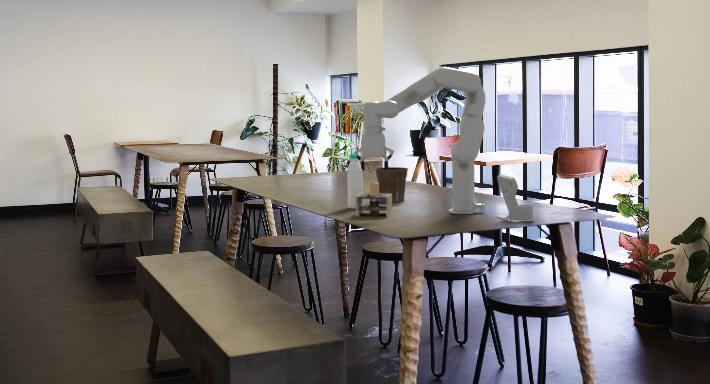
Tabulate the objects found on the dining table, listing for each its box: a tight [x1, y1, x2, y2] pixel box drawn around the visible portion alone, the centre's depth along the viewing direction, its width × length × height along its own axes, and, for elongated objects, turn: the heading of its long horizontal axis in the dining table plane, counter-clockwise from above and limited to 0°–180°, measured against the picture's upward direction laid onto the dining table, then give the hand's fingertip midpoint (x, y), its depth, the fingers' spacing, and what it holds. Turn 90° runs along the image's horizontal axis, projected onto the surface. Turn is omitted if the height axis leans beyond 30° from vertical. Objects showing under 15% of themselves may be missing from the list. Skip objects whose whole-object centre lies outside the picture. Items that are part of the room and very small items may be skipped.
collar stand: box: [355, 193, 393, 218], centre depth 362 cm, size 14×12×8 cm
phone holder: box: [496, 174, 534, 220], centre depth 340 cm, size 17×10×18 cm, turn 12°
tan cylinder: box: [368, 181, 380, 216], centre depth 362 cm, size 4×4×14 cm
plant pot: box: [374, 166, 409, 204], centre depth 406 cm, size 16×16×16 cm
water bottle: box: [346, 153, 364, 210], centre depth 385 cm, size 7×7×25 cm
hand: (374, 170), depth 360 cm, fingers open, 9 cm apart
